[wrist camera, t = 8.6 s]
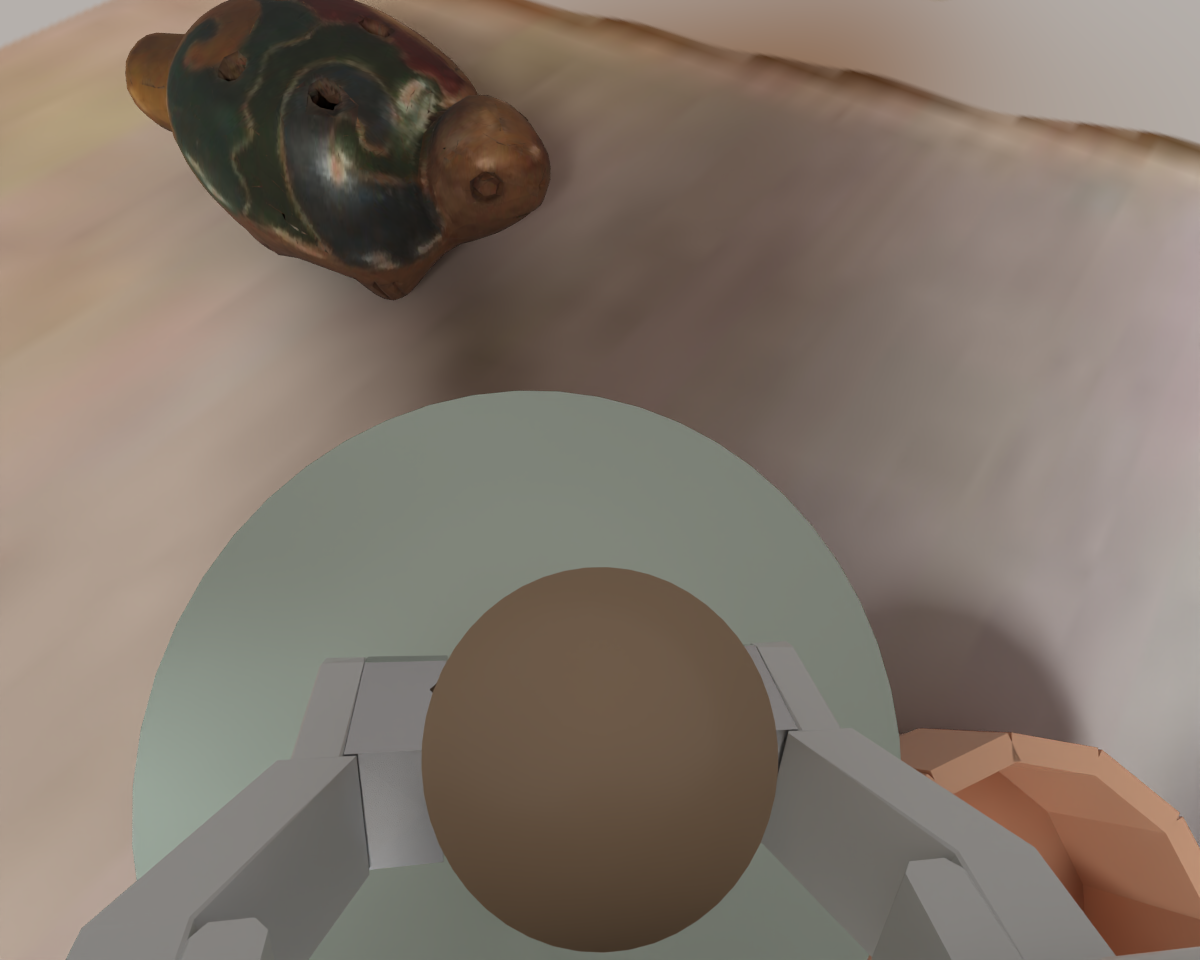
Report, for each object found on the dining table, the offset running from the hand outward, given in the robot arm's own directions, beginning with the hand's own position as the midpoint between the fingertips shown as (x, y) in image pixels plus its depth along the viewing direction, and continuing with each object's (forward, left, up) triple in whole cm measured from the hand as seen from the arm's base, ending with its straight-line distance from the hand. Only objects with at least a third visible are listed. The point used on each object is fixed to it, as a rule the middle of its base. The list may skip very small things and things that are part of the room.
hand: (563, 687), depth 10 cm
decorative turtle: (+17, -10, -16) cm, 26 cm away
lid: (-1, 0, -4) cm, 4 cm away
